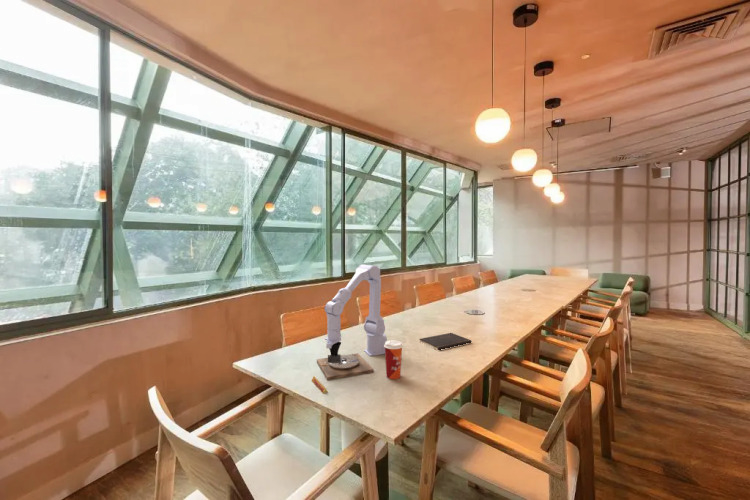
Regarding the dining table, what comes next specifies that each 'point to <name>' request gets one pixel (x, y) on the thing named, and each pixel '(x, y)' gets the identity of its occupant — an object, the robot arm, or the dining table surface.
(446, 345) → the black spiral notebook
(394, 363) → the paper cup
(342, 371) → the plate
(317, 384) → the chocolate bar
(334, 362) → the dial
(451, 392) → the dining table surface
